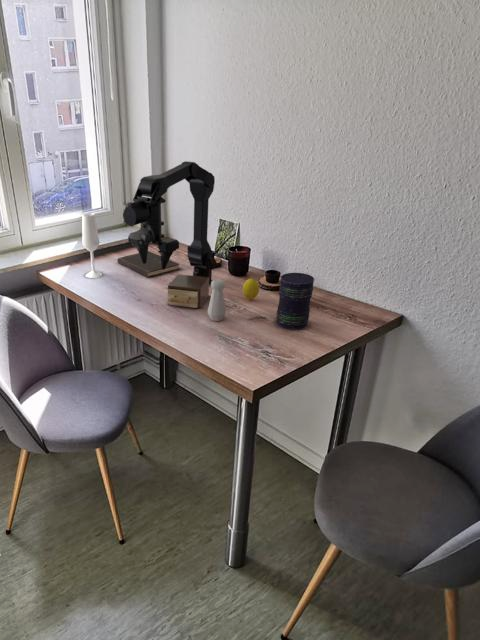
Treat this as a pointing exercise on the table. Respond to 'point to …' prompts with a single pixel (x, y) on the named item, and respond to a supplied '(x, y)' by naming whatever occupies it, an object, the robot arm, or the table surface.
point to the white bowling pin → (217, 301)
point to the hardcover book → (147, 264)
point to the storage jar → (294, 301)
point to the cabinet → (192, 286)
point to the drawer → (183, 297)
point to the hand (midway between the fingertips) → (153, 266)
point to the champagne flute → (90, 239)
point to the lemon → (251, 288)
